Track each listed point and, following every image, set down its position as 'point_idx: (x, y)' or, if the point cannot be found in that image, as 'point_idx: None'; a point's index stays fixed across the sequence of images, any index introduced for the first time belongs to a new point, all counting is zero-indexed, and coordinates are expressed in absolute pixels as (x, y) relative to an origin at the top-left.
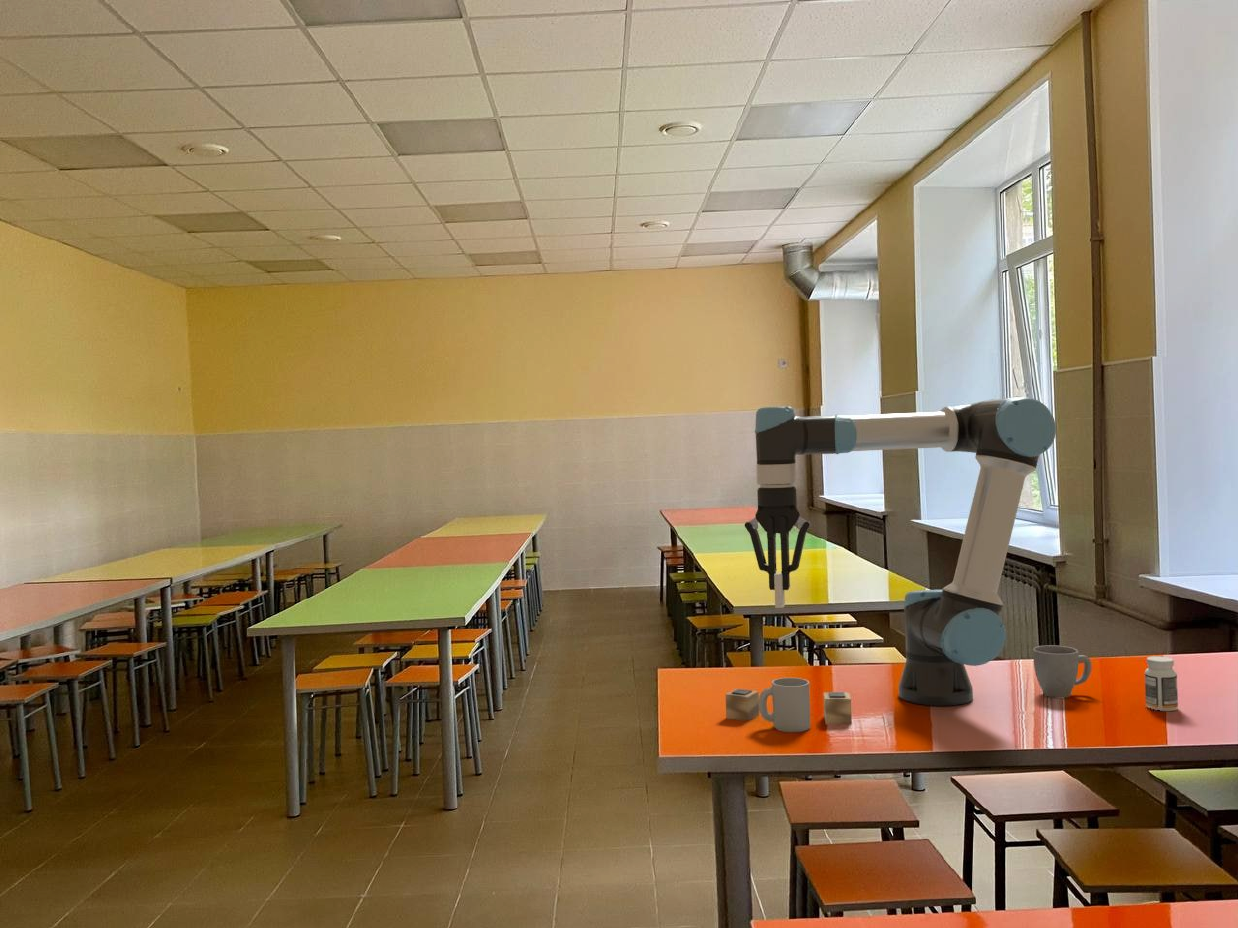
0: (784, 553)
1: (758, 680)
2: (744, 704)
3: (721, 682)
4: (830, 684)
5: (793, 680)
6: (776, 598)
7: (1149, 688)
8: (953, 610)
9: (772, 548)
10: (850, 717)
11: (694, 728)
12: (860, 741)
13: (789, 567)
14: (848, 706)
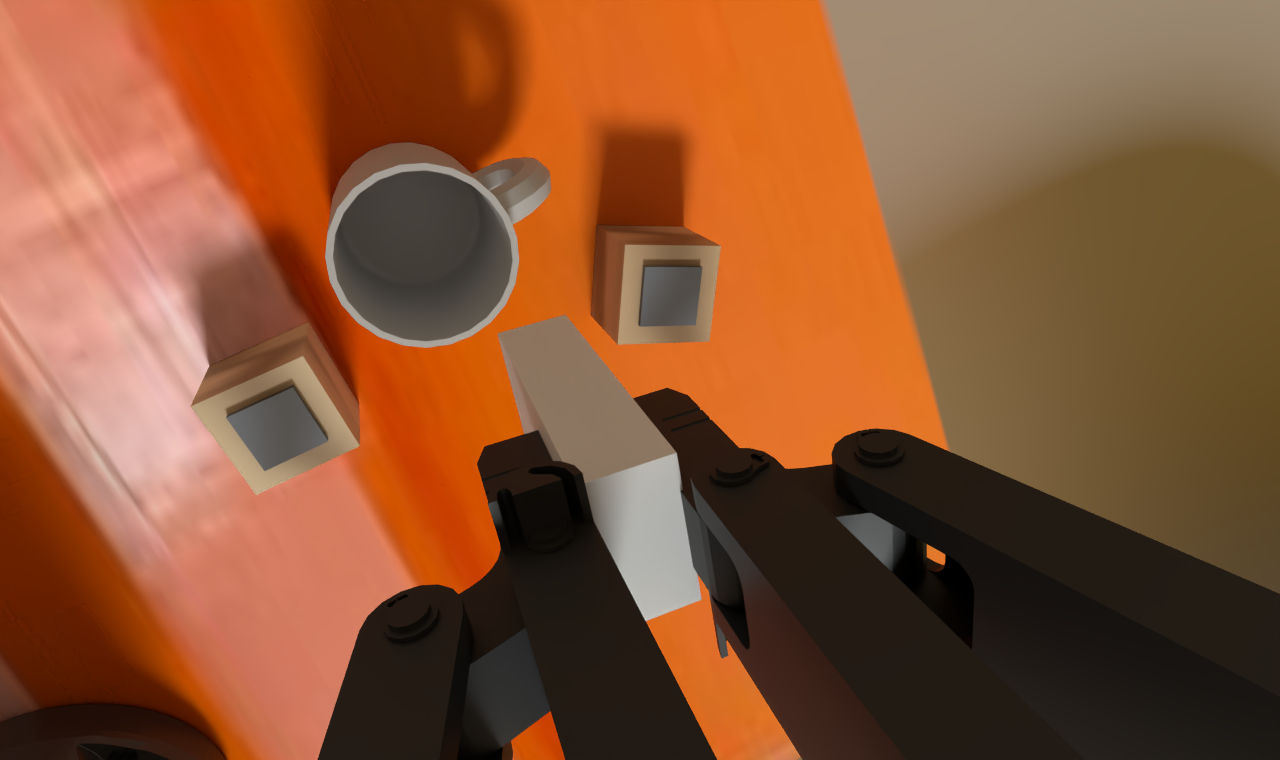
0: (629, 749)
1: (733, 658)
2: (630, 238)
3: None
4: None
5: (446, 334)
6: (572, 346)
7: None
8: None
9: (923, 733)
10: (209, 373)
11: (744, 54)
12: (34, 142)
13: (500, 621)
14: (208, 387)
